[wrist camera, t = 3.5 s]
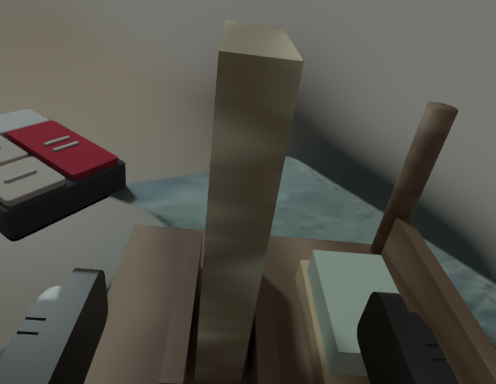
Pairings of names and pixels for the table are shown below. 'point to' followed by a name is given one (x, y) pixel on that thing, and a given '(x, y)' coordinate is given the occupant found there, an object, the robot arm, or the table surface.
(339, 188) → the table surface
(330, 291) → the offcut upper
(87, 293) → the robot arm
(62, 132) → the calculator
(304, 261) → the offcut lower
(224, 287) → the beige wooden block
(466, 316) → the rack
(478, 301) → the table surface
